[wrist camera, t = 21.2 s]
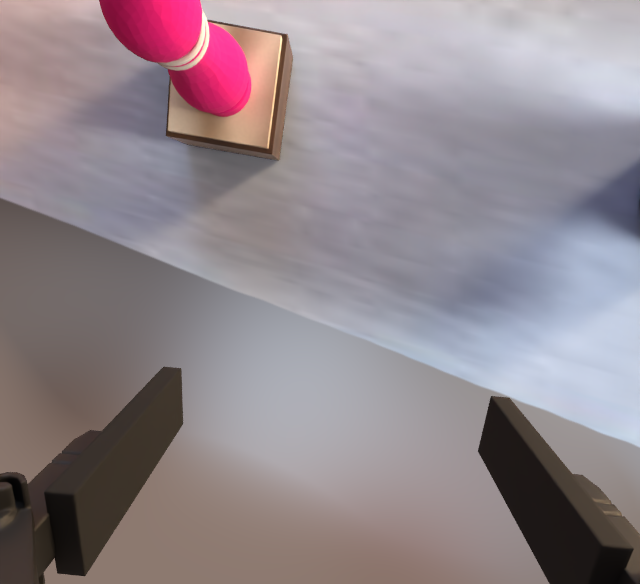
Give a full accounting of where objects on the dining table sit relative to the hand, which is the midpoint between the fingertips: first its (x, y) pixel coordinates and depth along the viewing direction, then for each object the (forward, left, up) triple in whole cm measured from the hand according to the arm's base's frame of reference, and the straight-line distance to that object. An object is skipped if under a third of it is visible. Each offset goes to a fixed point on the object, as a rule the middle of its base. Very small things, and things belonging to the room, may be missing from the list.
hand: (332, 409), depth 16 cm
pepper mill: (+7, -22, -29) cm, 37 cm away
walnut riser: (+7, -22, -36) cm, 43 cm away
